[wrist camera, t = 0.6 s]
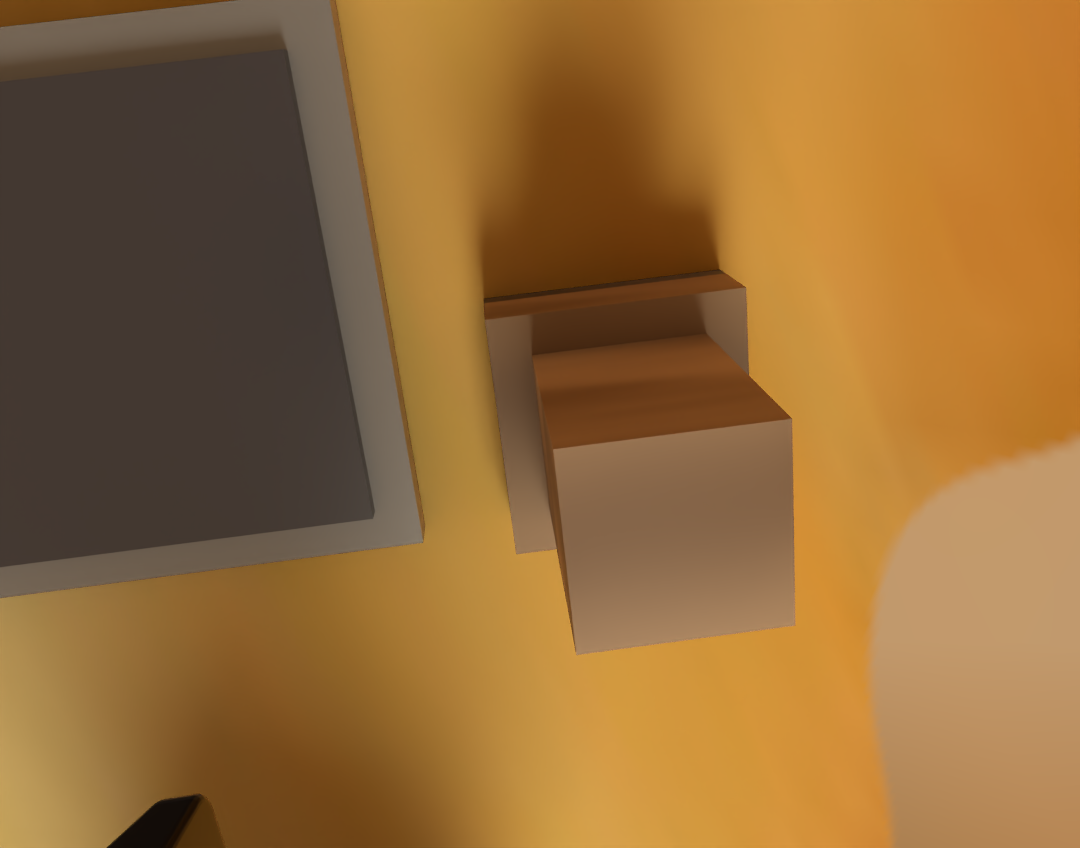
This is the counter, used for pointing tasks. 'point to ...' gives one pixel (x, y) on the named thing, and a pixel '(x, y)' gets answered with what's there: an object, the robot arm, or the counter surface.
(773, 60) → the counter surface
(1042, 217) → the counter surface
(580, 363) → the stamp
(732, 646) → the counter surface
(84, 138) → the ink pad
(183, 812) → the robot arm
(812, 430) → the counter surface
